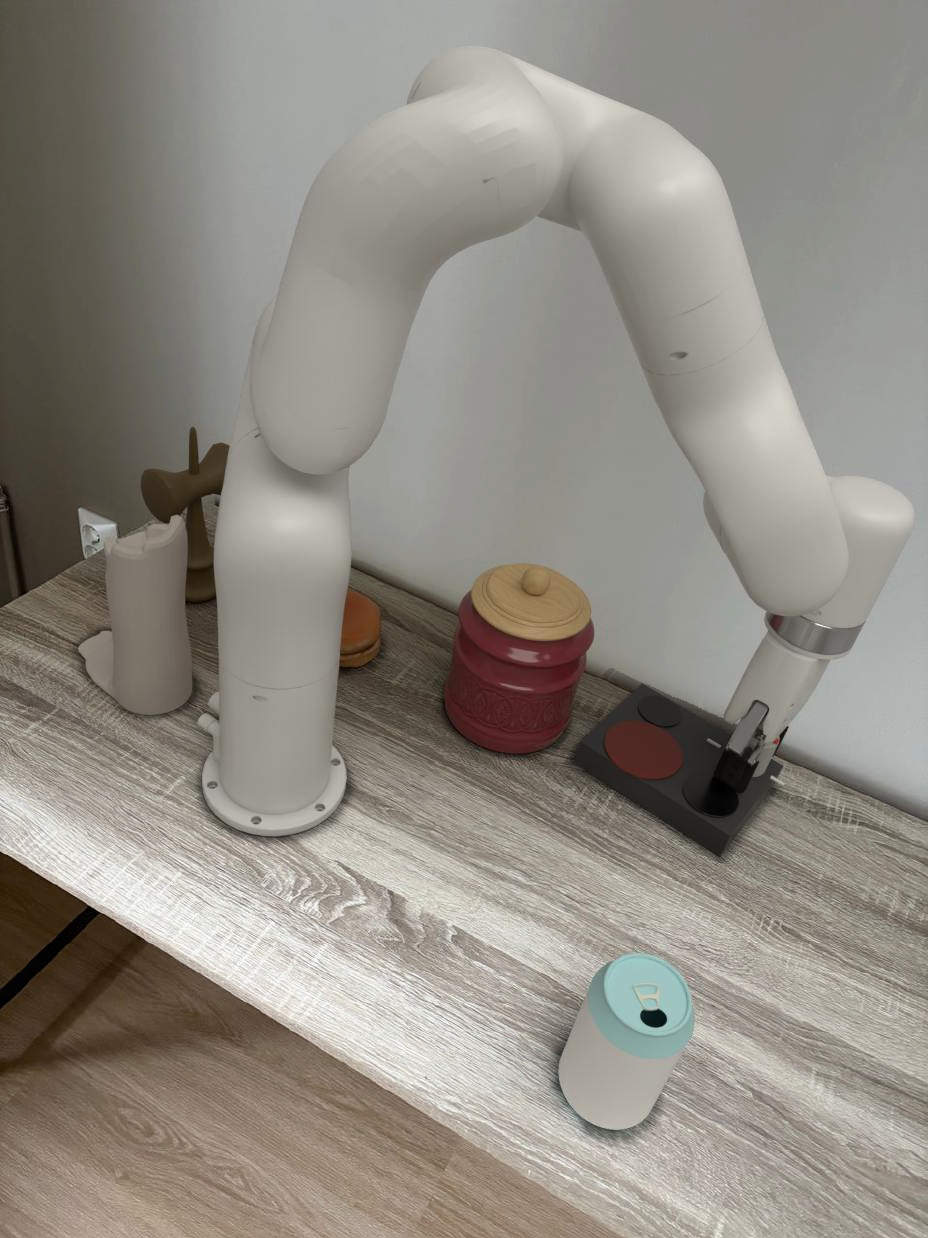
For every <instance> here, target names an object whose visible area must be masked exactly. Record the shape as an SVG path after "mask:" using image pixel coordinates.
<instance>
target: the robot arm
mask: <svg viewBox="0 0 928 1238" xmlns="http://www.w3.org/2000/svg"><path fill="white" fill-rule="evenodd" d="M406 99H407V100H406V104H405V105H403V106H400V107H398V108H395V109H393V110H391V111H388V112H387V113H385V114H382V115H381V116H379V117H378V118H376V119H374V120H372V121H371V122H369V123H368V124H367V125H365V126H363V127H362V128H361V129H359V130H358V131H357V132H355V134H353V135H352V136H350V137H349V138H348V139H346V141H345V142H344V143H343V144H342V145H340V147H338V149H336V150H335V152H333V154H331V156H330V157H329V158H328V159H327V161H325V163H324V164H323V166H322V167H321V169H320V170H319V172H318V173H317V175H316V177H315V178H314V180H313V182H312V183H311V185H310V187H309V189H308V192H307V194H306V196H305V199H304V201H303V204H302V207H301V210H300V214H299V217H298V220H297V223H296V226H295V229H294V234H293V237H292V240H291V245H290V248H289V252H288V255H287V259H286V263H285V266H284V269H283V272H282V276H281V278H280V283H279V287H278V290H277V294H276V295H275V296H273V298H272V299H271V300H270V301H269V303H267V305H266V306H265V307H264V309H263V311H262V313H261V314H260V317H259V318H258V320H257V323H256V326H255V330H254V332H253V333H254V334H253V336H252V337H253V338H252V341H251V346H250V351H249V355H248V359H247V364H246V367H245V368H246V369H245V373H244V378H243V382H242V386H241V391H240V395H239V400H238V405H237V410H236V415H235V419H234V423H233V428H232V433H231V434H232V435H231V437H230V443H229V446H230V447H229V452H228V457H227V463H226V469H225V476H224V483H223V488H222V492H221V496H220V498H219V504H218V511H217V517H216V518H217V519H216V523H215V524H216V525H215V533H214V542H213V543H214V544H213V548H214V576H215V586H216V611H217V613H216V614H217V653H218V691H216V692H214V693H213V694H212V695H211V696H210V698H209V699H208V701H207V706H208V709H210V710H211V711H212V712H214V713H215V714H217V715H218V716H219V718H218V719H219V721H218V719H216V718H215V717H214V716H212V715H211V714H209V713H207V712H205V713H203V714H201V715H200V717H199V718H198V719H197V722H196V724H197V726H198V727H199V728H200V729H202V730H203V731H204V732H206V733H207V734H209V735H211V736H212V750H211V752H210V753H208V756H207V758H206V760H205V762H204V763H203V768H202V773H201V788H202V793H203V797H204V800H205V802H206V804H207V806H208V807H209V809H210V810H211V811H212V812H213V814H214V815H215V816H216V817H217V818H218V819H220V820H221V821H222V822H223V823H224V824H226V825H228V826H230V827H232V828H233V829H235V830H238V831H241V832H244V833H246V834H249V835H256V836H261V837H282V836H290V835H295V834H299V833H302V832H305V831H308V830H311V829H312V828H314V827H316V826H319V825H320V824H321V823H323V822H324V821H326V820H327V819H328V818H329V817H330V816H331V815H332V814H333V813H334V812H335V811H336V810H337V809H338V807H339V806H340V804H341V802H342V800H343V798H344V796H345V792H346V787H347V780H348V778H347V776H348V775H347V767H346V764H345V760H344V758H343V757H342V755H341V753H340V752H339V750H338V749H337V747H336V746H334V745H333V740H334V739H333V738H334V729H335V718H336V705H337V703H336V702H337V693H338V682H339V672H340V671H339V670H340V667H339V661H340V645H341V634H342V623H343V614H344V606H345V600H346V594H347V589H348V588H349V583H350V577H351V567H352V553H353V552H352V548H353V547H352V546H353V543H352V542H353V540H352V539H353V538H352V537H353V536H352V517H351V516H352V515H351V499H350V487H349V475H350V467H351V466H352V465H353V464H354V463H356V462H358V460H360V459H361V458H362V457H363V456H364V455H365V454H366V453H367V452H368V451H369V450H370V448H371V447H372V445H374V442H375V441H376V440H377V438H378V436H379V434H380V433H381V430H382V428H383V425H384V423H385V420H386V418H387V414H388V410H389V405H390V402H391V397H392V393H393V390H394V386H395V382H396V380H397V376H398V373H399V369H400V366H401V362H402V359H403V356H404V353H405V350H406V346H407V343H408V340H409V336H410V333H411V330H412V328H413V327H412V326H413V324H414V322H415V320H416V316H417V313H418V311H419V308H420V306H421V303H422V301H423V298H424V296H425V294H426V291H427V289H428V286H429V285H430V283H431V280H432V279H433V277H434V276H435V275H436V273H437V271H439V269H440V268H441V267H442V266H443V265H444V264H445V263H446V262H447V261H449V260H450V259H451V258H453V257H454V256H456V255H458V253H460V252H462V251H465V250H466V249H469V248H470V247H473V246H475V245H478V244H480V243H484V242H487V241H491V240H493V239H494V240H495V239H498V238H500V237H503V236H506V235H509V234H511V233H514V232H516V231H518V230H519V229H521V228H524V227H525V226H527V224H529V223H530V222H532V221H533V220H534V219H535V218H536V217H537V218H541V219H543V220H545V221H549V222H552V223H555V224H557V225H560V226H564V227H567V228H569V229H573V230H576V231H579V232H582V234H583V235H584V237H585V238H586V240H587V241H588V242H589V244H590V246H591V248H592V251H593V253H594V255H595V257H596V259H597V261H598V264H599V266H600V268H601V271H602V274H603V276H604V278H605V281H606V283H607V286H608V289H609V292H610V293H611V296H612V298H613V301H614V303H615V306H616V308H617V311H618V313H619V315H620V318H621V320H622V322H623V325H624V328H625V330H626V332H627V335H628V337H629V340H630V343H631V345H632V347H633V350H634V352H635V354H636V357H637V360H638V362H639V366H640V367H641V371H642V372H643V375H644V377H645V380H646V383H647V385H648V388H649V390H650V393H651V396H652V398H653V401H654V402H655V404H656V406H657V408H658V409H659V412H660V414H661V416H662V419H663V421H664V423H665V425H666V426H667V429H668V430H669V432H670V434H671V436H672V438H673V439H674V441H675V443H676V444H677V446H678V448H679V449H680V450H681V452H682V453H683V455H684V457H685V458H686V460H687V462H688V463H689V464H690V466H691V468H692V470H693V471H694V473H695V475H696V476H697V478H698V480H699V482H700V484H701V485H702V487H703V489H704V494H703V500H702V505H703V506H702V507H703V512H704V513H703V514H704V516H705V518H706V521H707V524H708V526H709V528H710V530H711V532H712V533H713V535H714V538H715V539H716V541H717V543H718V545H719V547H720V549H721V550H722V552H723V553H724V554H725V556H726V558H727V559H728V561H729V563H730V565H731V566H732V568H733V570H734V572H735V574H736V577H738V580H739V582H740V584H741V586H742V588H743V589H744V591H745V593H746V595H747V596H748V597H749V599H751V601H752V602H753V603H754V604H755V605H756V606H758V607H759V608H761V609H762V610H764V611H765V614H764V616H763V617H764V618H763V623H764V625H765V628H766V630H767V632H766V634H765V635H764V637H763V638H762V640H761V642H760V643H759V645H758V646H757V648H756V650H755V652H754V653H753V655H752V657H751V658H750V661H749V662H748V664H747V667H746V668H745V670H744V672H743V675H742V677H741V679H740V681H739V683H738V684H737V686H736V688H735V691H734V693H733V694H732V697H731V698H730V700H729V702H728V705H727V707H726V709H725V710H724V713H723V719H724V722H726V723H729V724H730V725H735V724H736V723H737V722H738V721H739V722H738V723H737V725H738V726H737V725H736V728H735V729H734V731H733V733H732V734H731V736H732V737H731V739H730V740H729V742H728V744H727V745H726V746H725V749H724V751H723V753H722V755H721V758H720V760H719V762H718V764H717V766H716V769H715V771H714V776H715V777H716V778H717V779H719V780H720V781H722V782H723V783H725V784H727V785H728V786H730V787H731V788H733V789H735V790H736V791H738V792H740V793H744V791H745V790H746V789H747V787H748V785H749V783H750V781H751V779H752V777H753V775H754V773H755V770H756V768H757V766H758V764H759V761H757V758H758V757H759V755H760V753H761V751H762V750H763V748H764V746H765V744H769V743H772V742H774V741H775V740H776V738H777V737H778V736H779V737H780V741H779V744H778V746H777V748H776V750H775V752H774V754H773V756H772V758H774V757H775V755H776V754H777V752H778V750H779V748H780V746H781V744H782V743H783V740H784V738H785V736H786V734H787V733H788V731H789V728H790V726H789V725H790V724H791V723H792V722H793V720H794V719H795V718H796V716H797V715H798V714H799V713H800V712H801V710H802V709H804V706H805V705H806V704H807V703H808V701H809V699H810V698H811V697H812V695H813V693H814V692H815V690H816V688H817V687H818V685H819V683H820V682H821V680H822V678H823V676H824V674H825V672H826V671H827V668H828V666H829V664H830V662H831V661H832V660H833V661H835V660H838V659H843V658H844V657H846V656H848V654H850V652H851V651H852V650H853V647H854V645H855V643H856V641H857V639H858V637H859V635H860V633H861V631H862V629H863V627H864V625H865V623H866V621H867V619H868V617H869V616H870V614H871V612H872V610H873V608H874V606H875V604H876V602H877V600H878V598H879V596H880V595H881V592H882V591H883V589H884V587H885V585H886V582H887V581H888V579H889V577H890V575H891V573H892V571H893V569H894V567H895V566H896V563H897V561H898V559H899V557H900V556H901V554H902V552H903V550H904V547H905V546H906V544H907V542H908V540H909V538H910V536H911V534H912V531H913V530H914V527H915V523H916V513H915V509H914V505H913V504H912V503H911V501H910V500H909V499H908V497H907V496H906V495H904V494H903V493H902V492H901V491H900V490H898V489H897V488H895V487H893V486H892V485H890V484H888V483H885V482H883V481H880V480H878V479H875V478H872V477H868V476H861V475H857V474H856V475H854V474H848V475H847V474H846V475H840V476H831V475H827V474H826V472H825V470H824V468H823V467H824V466H823V465H822V462H821V460H820V457H819V455H818V451H816V448H815V445H814V443H813V441H812V439H811V436H810V433H809V430H808V429H807V426H806V425H805V420H804V419H803V417H802V414H801V411H800V409H799V406H798V403H797V401H796V397H795V395H794V394H795V393H794V391H793V389H792V387H791V384H790V381H789V380H788V377H787V374H786V372H785V370H784V368H783V366H782V364H781V361H780V359H779V356H778V353H777V350H776V347H775V344H774V340H773V338H772V335H771V332H770V329H769V326H768V322H767V319H766V315H765V312H764V310H763V307H762V303H761V300H760V297H759V294H758V290H757V287H756V284H755V280H754V276H753V274H752V270H751V266H750V263H749V260H748V257H747V252H746V250H745V247H744V243H743V239H742V237H741V234H740V230H739V227H738V223H737V220H736V217H735V214H734V210H733V207H732V203H731V200H730V197H729V195H728V192H727V190H726V187H725V184H724V182H723V179H722V177H721V175H720V173H719V172H718V170H717V168H716V167H715V165H714V164H713V162H712V161H711V160H710V159H709V158H708V157H707V156H706V155H705V153H703V152H702V151H701V150H700V149H699V148H697V147H696V146H695V145H694V144H693V143H692V142H690V141H689V140H688V139H687V138H686V137H684V136H683V134H681V133H680V132H679V131H678V130H677V129H676V128H674V127H672V125H670V124H669V123H667V122H665V121H664V120H662V119H660V118H658V117H656V116H654V115H651V114H649V113H647V112H645V111H642V110H640V109H637V108H635V107H632V106H631V105H627V104H625V103H622V102H619V101H617V100H614V99H612V98H610V97H607V96H605V95H602V94H600V93H598V92H595V91H593V90H591V89H589V88H586V87H583V86H581V85H579V84H578V83H575V82H572V81H570V80H568V79H566V78H563V77H561V76H559V75H556V74H554V73H552V72H550V71H547V70H545V69H543V68H541V67H538V66H536V65H533V64H532V63H530V62H527V61H524V60H522V59H520V58H518V57H515V56H513V55H511V54H509V53H506V52H504V51H501V50H499V49H496V48H494V47H490V46H489V47H488V46H485V45H484V46H483V45H471V44H468V45H462V46H456V47H454V48H451V49H448V50H445V51H443V52H442V53H440V54H439V55H437V56H436V57H434V58H432V59H431V60H430V61H429V62H428V63H427V64H426V65H425V66H424V67H423V68H422V69H421V71H419V73H418V75H417V76H416V78H415V79H414V81H413V83H412V85H411V88H410V91H409V93H408V96H407V98H406ZM760 725H762V726H763V731H762V730H760V729H759V727H760ZM753 737H754V738H756V739H758V740H759V741H758V743H757V744H756V746H755V748H754V750H752V748H750V747H749V743H750V741H751V739H752V738H753Z"/></svg>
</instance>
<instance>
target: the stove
mask: <svg viewBox="0 0 928 1238" xmlns="http://www.w3.org/2000/svg"><path fill="white" fill-rule="evenodd" d="M647 696H661V697H664V698H667V699H669V700H671V699H670V698H668V697H666V696H665V695H663V694H661V693H660V692H658V691H656V690H654V689H652V688H651V687H649V686H648V685H646V684H644V683H640V685H638V686H637V687H636V688H635V689H634V690H633V691H632V692H630V694H629V695H627V696H626V698H624V700H622V701H621V702H620V703H619V704H618V705H617V706H616V707H615V708H613V710H612V711H610V713H608V714H607V715H606V716H605V717H604V718H603V719H602V720H601V721H600V722H599V723H598V724H597V725H595V727H594V728H593V729H591V731H589V732H588V733H587V734H586V735H585V736H584V737H583V738H582V739H581V740H580V741H579V744H578V747H577V750H576V753H575V757H574V760H573V764H575V765H576V766H578V767H579V768H581V769H582V770H584V771H585V772H587V773H589V774H590V775H591V776H594V777H595V778H596V779H598V780H599V781H601V782H603V783H604V784H606V785H608V786H609V787H610V788H612V789H613V790H615V791H616V792H618V793H620V794H621V795H623V796H624V797H626V798H627V799H629V800H631V801H632V802H634V803H635V804H637V805H639V807H641V808H643V809H645V810H646V811H648V812H650V813H651V814H652V815H654V816H656V818H658V819H660V820H662V822H663V821H664V823H666V824H668V826H669V825H670V826H671V827H673V828H674V829H675V830H677V831H679V832H681V833H682V834H684V835H685V836H686V837H688V838H690V839H691V840H693V842H695V843H697V844H699V845H700V846H702V847H704V848H705V849H707V850H709V851H710V852H711V853H712V854H715V855H716V856H717V857H719V858H720V857H721V856H723V854H724V852H725V851H726V850H727V849H728V848H729V846H730V845H731V843H732V842H733V841H734V839H735V838H736V837H737V835H738V834H739V833H740V832H741V830H742V829H743V828H744V826H745V825H746V823H747V822H748V821H749V819H750V818H751V817H752V816H753V815H754V813H755V811H757V809H758V807H760V805H761V803H762V802H763V801H764V800H765V798H766V797H767V795H768V794H769V793H770V792H771V791H772V789H773V788H774V786H775V784H776V783H777V784H778V785H780V786H782V787H785V784H786V783H785V782H784V781H782V780H780V779H778V778H779V776H780V774H781V772H782V769H783V768H784V765H783V764H781V763H780V762H778V761H776V760H775V759H773V758H771V760H770V762H769V764H768V766H767V768H766V770H765V772H764V773H763V774H762V775H761V776H758V777H752V779H751V781H750V783H749V785H748V787H747V789H746V790H745V791H744V793H740V792H738V791H736V790H735V789H734V790H735V791H736V793H737V795H738V798H739V806H738V808H737V810H736V812H735V813H734V814H732V815H731V816H728V817H725V818H714V817H709V816H706V815H704V814H701V813H700V812H698V811H696V810H695V809H694V808H692V807H691V806H690V805H689V804H688V802H687V801H686V799H685V797H684V795H683V790H682V789H683V784H684V782H685V780H686V779H687V778H688V777H690V776H691V775H694V774H699V773H705V774H711V775H714V771H715V769H716V766H717V764H718V762H719V760H720V758H721V755H722V753H723V751H724V749H725V746H726V745H727V744H728V742H729V740H730V739H731V737H732V734H729V732H727V731H725V730H723V729H721V728H719V727H718V726H716V725H714V724H713V723H711V722H709V721H707V720H706V719H704V718H702V717H701V716H699V715H697V714H696V713H694V712H692V711H691V710H688V709H687V708H685V707H683V706H682V705H680V704H678V703H676V702H675V701H673V700H671V701H672V702H674V703H675V704H676V705H677V706H678V707H679V709H680V710H681V714H682V718H681V720H680V722H679V723H678V724H677V725H675V726H673V727H659V726H658V727H659V728H661V729H663V730H665V731H666V732H667V733H669V734H670V735H671V736H672V737H673V738H674V739H675V740H676V741H677V743H678V744H679V746H680V748H681V750H682V754H683V762H682V765H681V767H680V769H679V770H678V772H677V773H675V774H674V775H673V776H671V777H669V778H666V779H661V780H647V779H642V778H638V777H635V776H632V775H630V774H628V773H626V772H624V771H623V770H621V769H620V768H618V767H617V766H616V765H615V764H614V763H613V762H612V761H611V760H610V758H609V757H608V755H607V753H606V751H605V747H604V738H605V735H606V733H607V731H608V730H609V729H610V728H611V727H612V726H614V725H615V724H617V723H620V722H624V721H642V722H646V723H649V722H647V721H646V720H645V719H644V718H643V717H642V716H641V715H640V713H639V711H638V704H639V702H640V700H641V699H643V698H644V697H647ZM650 724H651V723H650ZM721 858H722V857H721Z"/></svg>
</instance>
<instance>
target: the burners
mask: <svg viewBox="0 0 928 1238" xmlns="http://www.w3.org/2000/svg"><path fill="white" fill-rule="evenodd" d="M667 698H668V697H666V698H664V697H661V696H647V697H644V698H643V699H641V700H640V702H639V704H638V711H639V713H640V715H641V716H642V717H643V718H644V719H645V720H646V721H647V722H649V723H646V722H642V721H624V722H620V723H617V724H615V725H614V726H612V727H611V728H610V729H609V730H608V731H607V733H606V735H605V738H604V747H605V751H606V753H607V755H608V757H609V758H610V760H611V761H612V762H613V763H614V764H615V765H616V766H617V767H618V768H620V769H621V770H623V771H624V772H626V773H628V774H630V775H632V776H635V777H638V778H642V779H647V780H661V779H666V778H669V777H671V776H673V775H674V774H675V773H677V772H678V770H679V769H680V767H681V765H682V762H683V754H682V750H681V748H680V746H679V744H678V743H677V741H676V740H675V739H674V738H673V737H672V736H671V735H670V734H669V733H667V732H666V731H665V730H663V729H661V728H659V727H673V726H675V725H677V724H678V723H679V722H680V720H681V718H682V714H681V710H680V709H679V707H678V706H677V705H676V704H675V703H676V702H675V701H673V700H671V699H670V698H668V699H667ZM669 699H670V700H669ZM672 701H673V702H672ZM674 702H675V703H674ZM650 723H651V724H650ZM658 726H659V727H658ZM682 790H683V795H684V797H685V799H686V801H687V802H688V804H689V805H690V806H691V807H692V808H694V809H695V810H696V811H698V812H700V813H701V814H704V815H706V816H709V817H714V818H725V817H728V816H731V815H732V814H734V813H735V812H736V810H737V808H738V806H739V798H738V795H737V793H736V791H735V790H734V789H733V788H731V787H730V786H728V785H727V784H725V783H723V782H722V781H720V780H719V779H717V778H716V777H715V776H714V775H711V774H705V773H699V774H694V775H691V776H690V777H688V778H687V779H686V780H685V782H684V784H683V789H682Z"/></svg>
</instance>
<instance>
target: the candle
mask: <svg viewBox="0 0 928 1238" xmlns="http://www.w3.org/2000/svg"><path fill="white" fill-rule="evenodd" d="M185 525H186V521H185V520H184V518H183V517H182V516H181V515H180V516H179V515H175V516H172V517H171V520H170V523H154V524H153V523H152V524H150V525H149V526H147V528H146V530H144V531H138V532H136V533H134V534H133V533H132V534H131V535H128V536H125V537H122V538H116V537H115V536H113V535H111V536H108V537H105V539H104V542H103V551H104V557H105V573H104V581H105V591H106V601H107V607H108V614H109V621H110V627H111V630H101V631H100V632H99V633H98V634H96V635H93V636H91V637H89V638H87V639H86V640H84V641H83V642H82V643H80V645H78V647H77V651H78V652H79V653H80V654H81V657H83V658H84V660H85V671H86V672H87V674H88V676H89V677H90V679H91V680H92V682H93V683H94V684H95V685H97V686H98V687H99V688H100V689H101V690H102V691H104V692H105V693H106V694H107V695H109V696H110V697H111V698H112V699H114V700H115V701H116V702H117V704H119V705H120V706H121V707H122V708H123V709H124V710H127V711H129V712H131V713H134V714H138V715H145V716H154V715H155V716H156V715H163V714H167V713H169V712H173V711H175V710H177V709H179V708H180V707H182V706H183V705H184V704H186V703H187V702H188V700H189V699H190V698H191V696H192V693H193V663H192V662H193V660H192V659H193V658H192V649H191V648H192V647H191V642H190V635H189V628H188V622H187V614H186V600H185V587H186V573H187V556H188V540H187V531H186V526H185Z"/></svg>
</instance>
